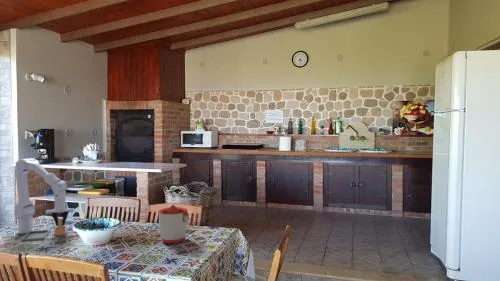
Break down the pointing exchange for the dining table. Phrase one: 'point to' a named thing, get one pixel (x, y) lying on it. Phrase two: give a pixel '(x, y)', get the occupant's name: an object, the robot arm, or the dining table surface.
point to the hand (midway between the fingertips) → (60, 225)
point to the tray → (35, 235)
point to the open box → (60, 231)
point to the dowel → (60, 223)
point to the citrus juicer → (173, 224)
